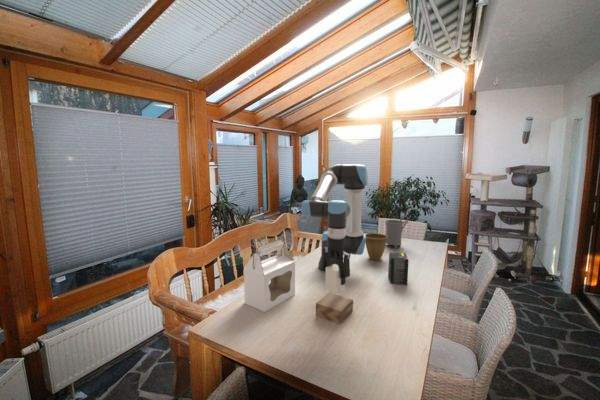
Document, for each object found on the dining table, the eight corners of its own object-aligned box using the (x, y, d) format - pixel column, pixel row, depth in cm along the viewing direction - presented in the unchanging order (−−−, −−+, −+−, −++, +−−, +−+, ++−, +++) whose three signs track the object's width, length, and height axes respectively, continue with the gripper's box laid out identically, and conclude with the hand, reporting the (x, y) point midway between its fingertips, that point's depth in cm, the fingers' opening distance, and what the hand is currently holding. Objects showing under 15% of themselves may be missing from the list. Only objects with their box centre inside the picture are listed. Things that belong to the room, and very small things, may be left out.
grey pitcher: (379, 246, 224) (381, 214, 220) (384, 241, 236) (386, 211, 233) (404, 250, 214) (406, 217, 210) (408, 245, 227) (410, 214, 223)
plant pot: (390, 259, 195) (392, 236, 193) (376, 264, 187) (377, 240, 184) (373, 253, 207) (374, 231, 205) (359, 257, 199) (360, 234, 196)
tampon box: (407, 285, 156) (409, 259, 153) (389, 283, 157) (391, 258, 155) (404, 277, 166) (406, 252, 164) (387, 275, 168) (389, 251, 166)
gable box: (264, 312, 127) (263, 251, 123) (244, 303, 135) (242, 245, 131) (295, 294, 145) (295, 240, 141) (276, 287, 153) (275, 235, 149)
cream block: (325, 289, 125) (325, 267, 124) (333, 285, 129) (334, 263, 128) (335, 294, 121) (336, 271, 119) (344, 289, 125) (345, 267, 124)
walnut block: (315, 316, 125) (315, 303, 124) (328, 304, 135) (329, 292, 134) (340, 325, 119) (341, 311, 118) (352, 312, 129) (353, 299, 128)
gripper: (313, 234, 126) (313, 284, 129) (349, 243, 112) (347, 299, 116) (325, 231, 131) (324, 279, 134) (360, 239, 118) (358, 293, 121)
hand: (335, 288), depth 125 cm, fingers closed on cream block, 6 cm apart
